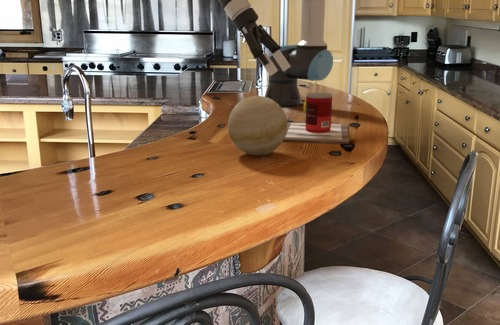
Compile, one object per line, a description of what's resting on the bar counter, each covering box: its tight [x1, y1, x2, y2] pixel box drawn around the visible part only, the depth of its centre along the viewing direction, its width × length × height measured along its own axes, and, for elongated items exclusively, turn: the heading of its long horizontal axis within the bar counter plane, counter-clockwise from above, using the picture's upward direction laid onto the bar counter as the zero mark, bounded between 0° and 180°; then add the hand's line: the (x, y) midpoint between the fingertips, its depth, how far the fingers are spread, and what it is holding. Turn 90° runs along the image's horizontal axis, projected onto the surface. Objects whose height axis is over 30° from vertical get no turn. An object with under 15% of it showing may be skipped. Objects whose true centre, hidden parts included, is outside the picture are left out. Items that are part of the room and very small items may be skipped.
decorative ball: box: [227, 95, 288, 156], centre depth 132 cm, size 15×15×15 cm
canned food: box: [304, 92, 333, 133], centre depth 157 cm, size 8×8×11 cm
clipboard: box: [282, 121, 350, 145], centre depth 159 cm, size 26×20×2 cm
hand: (281, 71), depth 161 cm, fingers open, 13 cm apart
